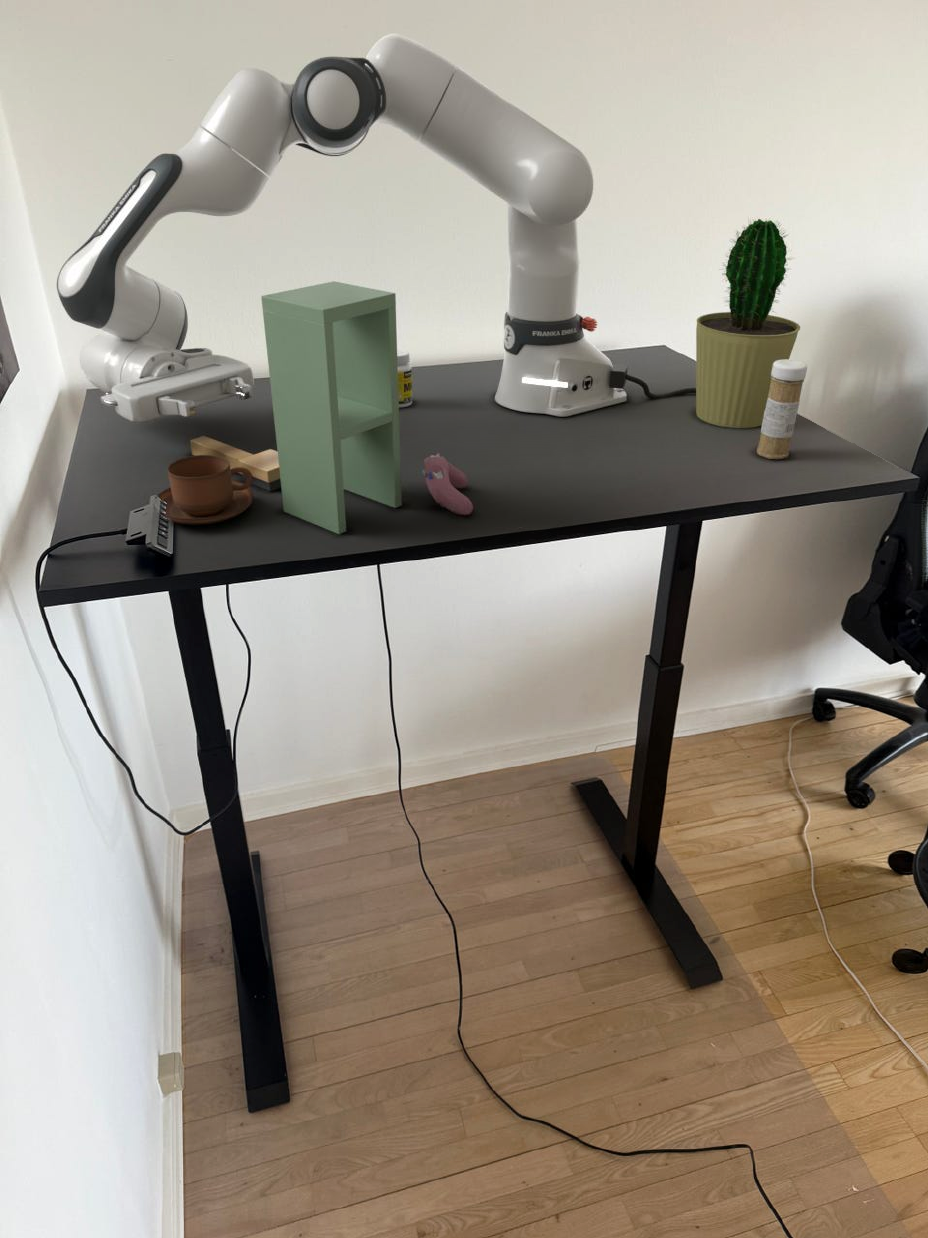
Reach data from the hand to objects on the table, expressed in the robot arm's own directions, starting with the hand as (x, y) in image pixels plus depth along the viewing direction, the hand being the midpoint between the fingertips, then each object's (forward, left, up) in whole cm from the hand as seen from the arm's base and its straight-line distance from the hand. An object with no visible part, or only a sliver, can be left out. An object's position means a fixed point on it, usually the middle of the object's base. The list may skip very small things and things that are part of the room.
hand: (220, 401), depth 120 cm
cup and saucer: (+6, +15, -9) cm, 19 cm away
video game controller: (-23, +24, -9) cm, 35 cm away
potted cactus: (-79, +13, -9) cm, 80 cm away
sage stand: (-10, +21, -9) cm, 25 cm away
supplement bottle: (-32, -15, -9) cm, 36 cm away
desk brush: (-1, +2, -9) cm, 9 cm away
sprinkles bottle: (-73, +29, -9) cm, 79 cm away
